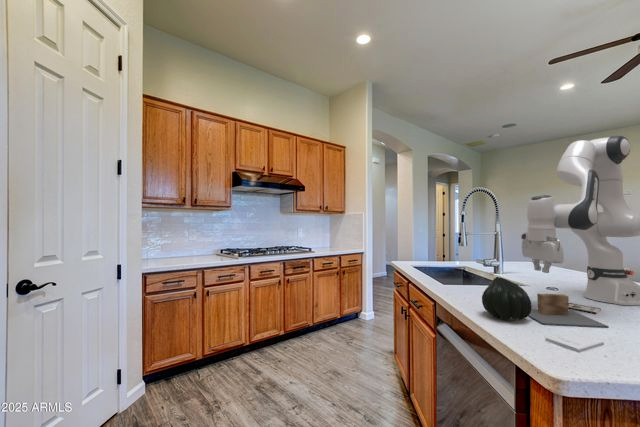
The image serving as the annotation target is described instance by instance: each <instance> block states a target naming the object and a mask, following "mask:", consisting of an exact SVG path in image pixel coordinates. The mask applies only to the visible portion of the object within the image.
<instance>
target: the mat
mask: <svg viewBox="0 0 640 427" xmlns="http://www.w3.org/2000/svg"><path fill="white" fill-rule="evenodd" d="M527 318H530V319H532V320H533V321H535V322H537V323H538V324H540V325H542V326H557V327H558V326H560V327H581V328H597V329H599V328H601V329H602V328H603V329H609V325H607V324H605V323H602V322H600V321H597V320H596V319H593V318H590V317H588V316H585V315H584V314H581V313H579V312H578V311H575V310H569V316H568V315H546V314H540V313H538V308H537V309H536V308H531V313H530V314H529V316H528V317H527Z"/></svg>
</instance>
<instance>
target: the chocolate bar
mask: <svg viewBox="0 0 640 427" xmlns="http://www.w3.org/2000/svg"><path fill="white" fill-rule="evenodd" d="M601 310H602V309H601V308H599V307H595V306H594V307H592V306H587V305H582V304H577V303H570V302H569V311H574V312H581V313H586V314H592V315H597V314H598V313H599V312H601Z"/></svg>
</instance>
